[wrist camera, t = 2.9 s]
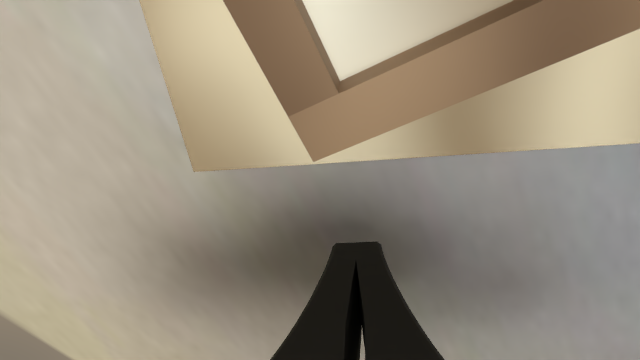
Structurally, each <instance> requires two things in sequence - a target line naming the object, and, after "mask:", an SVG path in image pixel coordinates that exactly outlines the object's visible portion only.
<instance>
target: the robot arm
mask: <svg viewBox="0 0 640 360" xmlns="http://www.w3.org/2000/svg"><path fill="white" fill-rule="evenodd" d="M362 329H363V338H364V346H365V360H444V358H443V357H442V356H441V355H440V353H439V352H438V351H437V349H436V348H435V346H434V345H433V344H432V342H431V341H430V339H429V338H428V337H427V335H426V334H425V332H424V331H423V329H422V328H421V326H420V325H419V323H418V322H417V320H416V318H415V317H414V315H413V314H412V312H411V310H410V309H409V307H408V305H407V303H406V302H405V300H404V298H403V296H402V294H401V292H400V291H399V289H398V287H397V285H396V283H395V281H394V279H393V277H392V275H391V272H390V270H389V268H388V265H387V263H386V260H385V258H384V255H383V251H382V247H381V244H379V243H378V242H359V243H336V244H335V245H334V246H333V248H332V251H331V254H330V257H329V260H328V262H327V265H326V267H325V270H324V272H323V274H322V276H321V278H320V280H319V282H318V284H317V286H316V288H315V290H314V292H313V294H312V296H311V298H310V300H309V302H308V304H307V305H306V307H305V309H304V310H303V312H302V314H301V316H300V317H299V319H298V321H297V322H296V324H295V325H294V327H293V328H292V330H291V332H290V333H289V335H288V336H287V338H286V339H285V340H284V342H283V343H282V345H281V346H280V347H279V349H278V350H277V352H276V353H275V354H274V355H273V357H272V358H271V359H270V360H360V345H361V330H362Z"/></svg>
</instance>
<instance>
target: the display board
mask: <svg viewBox="0 0 640 360" xmlns="http://www.w3.org/2000/svg"><path fill="white" fill-rule="evenodd" d="M139 1H140V4H141V7H142V10H143V13H144V16H145V20H146V23H147V26H148V29H149V32H150V35H151V39H152V42H153V45H154V48H155V51H156V54H157V57H158V61H159V64H160V67H161V70H162V73H163V76H164V79H165V83H166V86H167V89H168V92H169V95H170V98H171V101H172V105H173V108H174V111H175V114H176V117H177V120H178V124H179V127H180V130H181V133H182V136H183V139H184V142H185V146H186V149H187V152H188V155H189V158H190V161H191V164H192V168H193V171H194V172H199V171H215V170H230V169H246V168H261V167H277V166H293V165H308V164H324V163H339V162H355V161H370V160H386V159H402V158H417V157H433V156H448V155H464V154H479V153H495V152H511V151H526V150H542V149H557V148H573V147H588V146H604V145H620V144H635V143H640V29H638V30H636V31H633V32H631V33H628V34H626V35H623V36H621V37H618V38H616V39H614V40H611V41H609V42H606V43H604V44H601V45H599V46H596V47H594V48H592V49H589V50H587V51H584V52H582V53H579V54H577V55H574V56H572V57H570V58H567V59H565V60H562V61H560V62H557V63H555V64H552V65H550V66H547V67H545V68H543V69H540V70H538V71H535V72H533V73H530V74H528V75H525V76H523V77H521V78H518V79H516V80H513V81H511V82H508V83H506V84H503V85H501V86H499V87H496V88H494V89H491V90H489V91H486V92H484V93H481V94H479V95H476V96H474V97H472V98H469V99H467V100H464V101H462V102H459V103H457V104H454V105H452V106H450V107H447V108H445V109H442V110H440V111H437V112H435V113H432V114H430V115H428V116H425V117H423V118H420V119H418V120H415V121H413V122H410V123H408V124H405V125H403V126H401V127H398V128H396V129H393V130H391V131H388V132H386V133H383V134H381V135H379V136H376V137H374V138H371V139H369V140H366V141H364V142H361V143H359V144H357V145H354V146H352V147H349V148H347V149H344V150H342V151H339V152H337V153H334V154H332V155H330V156H327V157H325V158H322V159H320V160H317V161H315V162H313V161H312V159H311V157H310V155H309V153H308V152H307V150H306V148H305V146H304V145H303V143H302V141H301V139H300V137H299V136H298V134H297V132H296V130H295V128H294V127H293V125H292V123H291V121H290V119H289V118H288V116H287V114H286V112H285V111H284V109H283V107H282V105H281V103H280V102H279V100H278V98H277V96H276V94H275V93H274V91H273V89H272V87H271V86H270V84H269V82H268V80H267V78H266V77H265V75H264V73H263V71H262V69H261V68H260V66H259V64H258V62H257V61H256V59H255V57H254V55H253V53H252V52H251V50H250V48H249V46H248V44H247V43H246V41H245V39H244V37H243V35H242V34H241V32H240V30H239V28H238V27H237V25H236V23H235V21H234V19H233V18H232V16H231V14H230V12H229V10H228V9H227V7H226V5H225V3H224V2H223V0H139Z"/></svg>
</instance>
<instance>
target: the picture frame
mask: <svg viewBox="0 0 640 360" xmlns="http://www.w3.org/2000/svg"><path fill="white" fill-rule="evenodd" d="M223 2H224V3H225V5H226V7H227V9H228V10H229V12H230V14H231V16H232V18H233V19H234V21H235V23H236V25H237V27H238V28H239V30H240V32H241V34H242V35H243V37H244V39H245V41H246V43H247V44H248V46H249V48H250V50H251V52H252V53H253V55H254V57H255V59H256V61H257V62H258V64H259V66H260V68H261V69H262V71H263V73H264V75H265V77H266V78H267V80H268V82H269V84H270V86H271V87H272V89H273V91H274V93H275V94H276V96H277V98H278V100H279V102H280V103H281V105H282V107H283V109H284V111H285V112H286V114H287V116H288V118H289V119H290V121H291V123H292V125H293V127H294V128H295V130H296V132H297V134H298V136H299V137H300V139H301V141H302V143H303V145H304V146H305V148H306V150H307V152H308V153H309V155H310V157H311V159H312V161H313V162H315V161H317V160H320V159H322V158H325V157H327V156H330V155H332V154H334V153H337V152H339V151H342V150H344V149H347V148H349V147H352V146H354V145H357V144H359V143H361V142H364V141H366V140H369V139H371V138H374V137H376V136H379V135H381V134H383V133H386V132H388V131H391V130H393V129H396V128H398V127H401V126H403V125H405V124H408V123H410V122H413V121H415V120H418V119H420V118H423V117H425V116H428V115H430V114H432V113H435V112H437V111H440V110H442V109H445V108H447V107H450V106H452V105H454V104H457V103H459V102H462V101H464V100H467V99H469V98H472V97H474V96H476V95H479V94H481V93H484V92H486V91H489V90H491V89H494V88H496V87H499V86H501V85H503V84H506V83H508V82H511V81H513V80H516V79H518V78H521V77H523V76H525V75H528V74H530V73H533V72H535V71H538V70H540V69H543V68H545V67H547V66H550V65H552V64H555V63H557V62H560V61H562V60H565V59H567V58H570V57H572V56H574V55H577V54H579V53H582V52H584V51H587V50H589V49H592V48H594V47H596V46H599V45H601V44H604V43H606V42H609V41H611V40H614V39H616V38H618V37H621V36H623V35H626V34H628V33H631V32H633V31H636V30H638V29H640V0H223Z"/></svg>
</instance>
